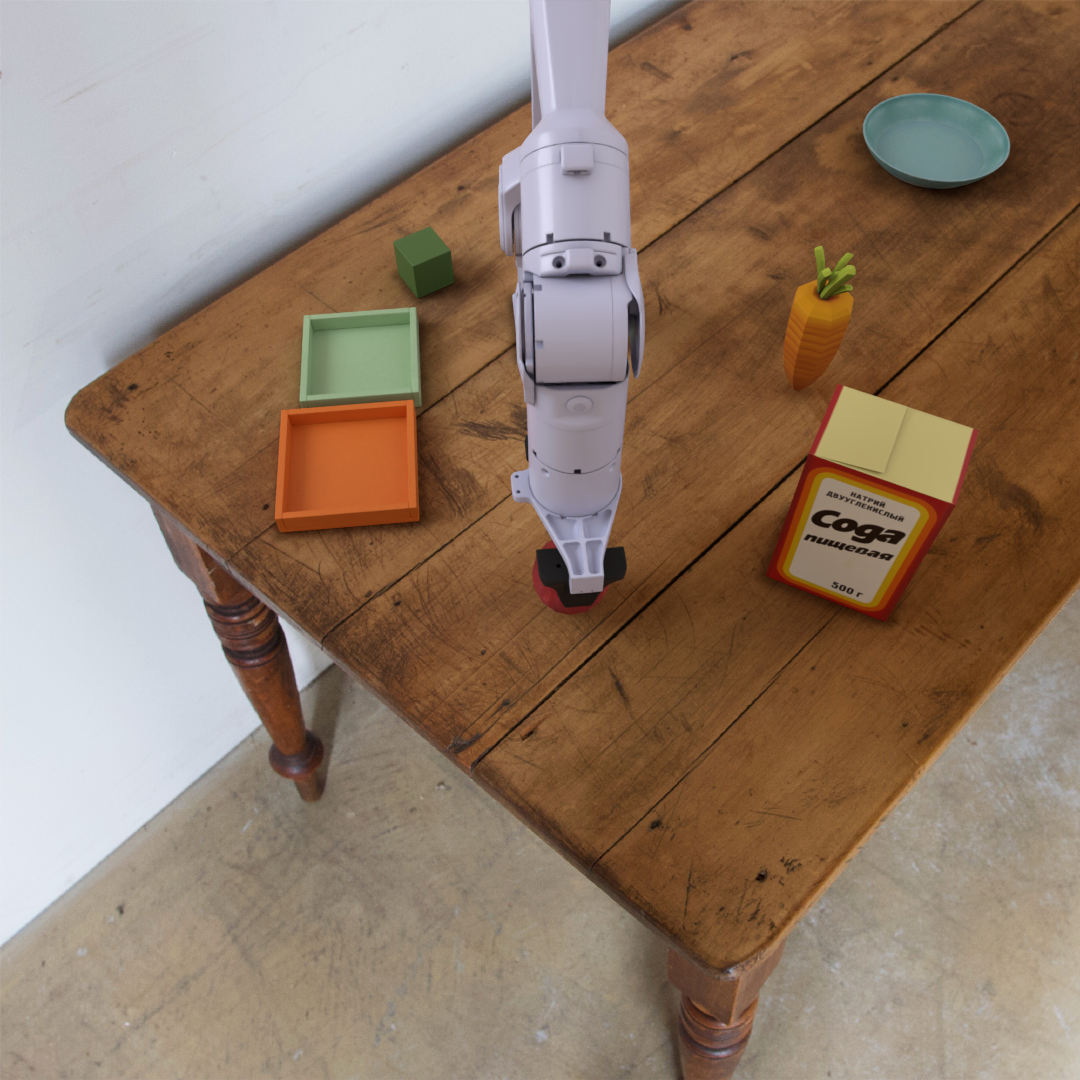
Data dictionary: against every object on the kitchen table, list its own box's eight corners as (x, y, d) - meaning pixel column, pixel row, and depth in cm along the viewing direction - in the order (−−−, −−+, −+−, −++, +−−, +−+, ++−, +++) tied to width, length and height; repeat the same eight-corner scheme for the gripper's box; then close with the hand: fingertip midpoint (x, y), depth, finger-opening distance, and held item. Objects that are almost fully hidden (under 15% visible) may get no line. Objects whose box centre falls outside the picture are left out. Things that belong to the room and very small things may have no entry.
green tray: (418, 322, 92) (416, 306, 91) (421, 406, 87) (418, 391, 85) (308, 330, 92) (303, 315, 90) (304, 416, 86) (299, 401, 85)
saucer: (1019, 142, 105) (1030, 120, 103) (972, 222, 99) (982, 200, 96) (888, 98, 110) (895, 76, 107) (834, 171, 103) (840, 149, 101)
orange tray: (416, 414, 86) (413, 399, 85) (419, 521, 80) (416, 507, 79) (286, 424, 86) (281, 409, 84) (280, 533, 80) (274, 519, 78)
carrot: (762, 370, 89) (797, 237, 76) (817, 366, 89) (861, 232, 76) (774, 413, 86) (812, 282, 73) (831, 409, 86) (879, 278, 73)
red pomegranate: (601, 638, 74) (606, 585, 68) (526, 625, 75) (523, 571, 68) (613, 572, 78) (619, 516, 71) (541, 560, 78) (540, 503, 71)
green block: (434, 258, 97) (430, 225, 93) (454, 282, 95) (451, 250, 92) (398, 274, 96) (392, 241, 92) (417, 299, 94) (412, 266, 90)
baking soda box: (907, 555, 78) (981, 426, 65) (885, 622, 75) (958, 501, 61) (791, 512, 80) (839, 380, 67) (765, 576, 77) (809, 450, 64)
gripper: (500, 351, 63) (508, 478, 75) (518, 543, 55) (524, 651, 67) (610, 343, 63) (601, 470, 75) (643, 533, 56) (628, 642, 67)
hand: (572, 555), depth 71 cm, fingers open, 7 cm apart
